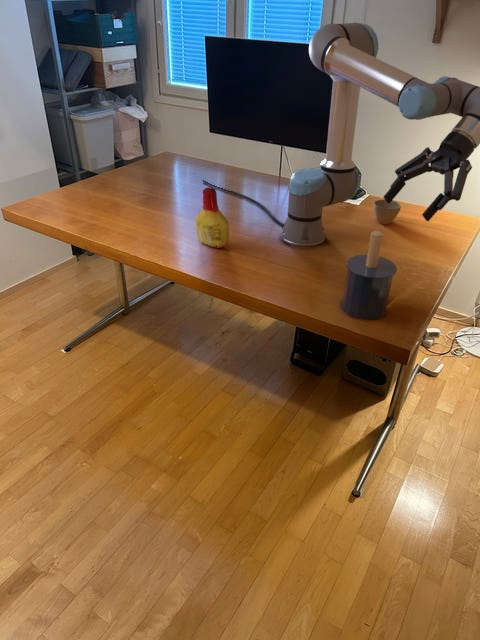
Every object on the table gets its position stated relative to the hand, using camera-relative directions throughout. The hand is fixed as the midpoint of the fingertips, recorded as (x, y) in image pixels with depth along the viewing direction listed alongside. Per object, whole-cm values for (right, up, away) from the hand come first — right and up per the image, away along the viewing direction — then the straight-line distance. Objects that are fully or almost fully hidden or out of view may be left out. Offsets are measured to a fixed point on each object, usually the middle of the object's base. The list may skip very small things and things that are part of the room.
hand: (404, 208), depth 121 cm
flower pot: (+13, +9, +62) cm, 64 cm away
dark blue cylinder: (-8, -25, +11) cm, 28 cm away
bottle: (-51, -2, +44) cm, 67 cm away
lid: (-7, -14, +4) cm, 17 cm away
